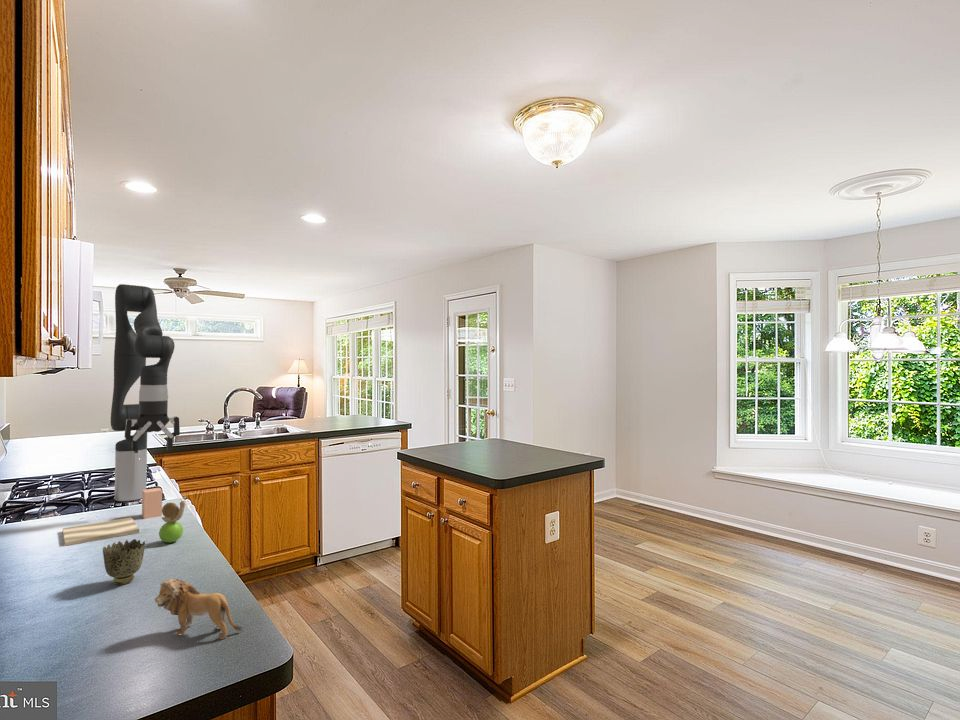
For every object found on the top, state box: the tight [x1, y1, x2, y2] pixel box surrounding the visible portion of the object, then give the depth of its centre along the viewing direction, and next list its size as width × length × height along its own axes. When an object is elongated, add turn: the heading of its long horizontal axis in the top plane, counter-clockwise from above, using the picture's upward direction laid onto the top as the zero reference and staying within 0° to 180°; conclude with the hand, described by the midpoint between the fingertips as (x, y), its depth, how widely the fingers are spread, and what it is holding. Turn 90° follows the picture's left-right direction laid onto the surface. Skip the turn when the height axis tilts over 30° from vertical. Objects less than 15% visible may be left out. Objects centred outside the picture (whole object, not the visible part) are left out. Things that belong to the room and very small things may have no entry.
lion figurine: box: [154, 578, 244, 640], centre depth 87 cm, size 15×5×9 cm, turn 90°
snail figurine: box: [158, 495, 187, 544], centre depth 132 cm, size 5×6×12 cm
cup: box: [102, 538, 146, 586], centre depth 107 cm, size 8×7×8 cm
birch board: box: [62, 517, 140, 547], centre depth 140 cm, size 15×16×1 cm
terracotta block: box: [141, 487, 163, 520], centre depth 156 cm, size 5×5×8 cm
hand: (152, 451), depth 156 cm, fingers open, 8 cm apart
